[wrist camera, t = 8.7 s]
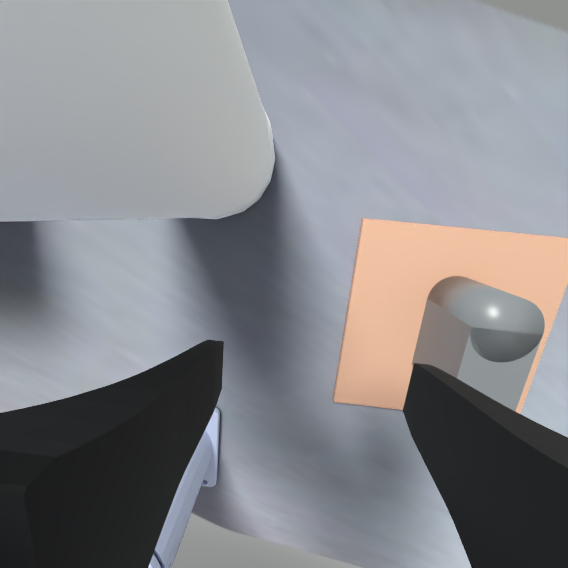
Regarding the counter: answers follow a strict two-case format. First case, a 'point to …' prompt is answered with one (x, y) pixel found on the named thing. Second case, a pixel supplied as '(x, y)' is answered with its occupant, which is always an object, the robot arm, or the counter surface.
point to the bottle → (127, 112)
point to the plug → (480, 337)
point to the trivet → (415, 289)
